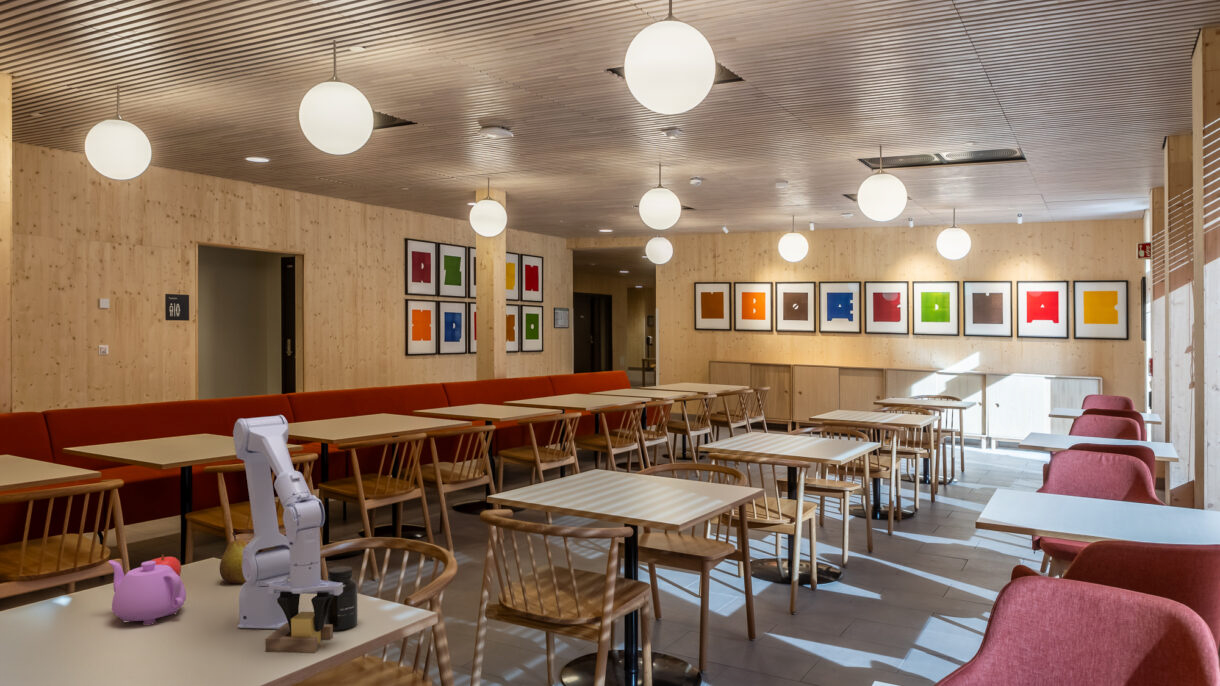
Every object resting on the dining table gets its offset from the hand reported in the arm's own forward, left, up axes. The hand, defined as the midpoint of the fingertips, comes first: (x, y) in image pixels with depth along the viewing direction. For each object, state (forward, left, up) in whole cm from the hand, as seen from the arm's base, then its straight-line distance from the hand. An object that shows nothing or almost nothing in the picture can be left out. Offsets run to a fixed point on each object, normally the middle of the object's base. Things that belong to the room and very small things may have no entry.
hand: (306, 629), depth 161 cm
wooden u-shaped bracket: (-1, 0, -3) cm, 3 cm away
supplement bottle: (+3, +10, -3) cm, 11 cm away
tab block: (0, 0, -3) cm, 3 cm away
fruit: (-36, +38, -3) cm, 53 cm away
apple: (-53, +33, -3) cm, 63 cm away
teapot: (-43, +13, -3) cm, 46 cm away
